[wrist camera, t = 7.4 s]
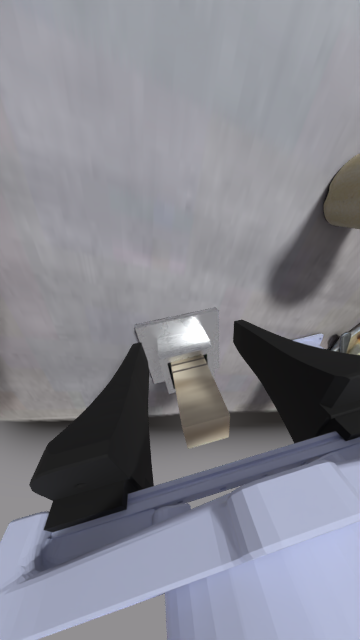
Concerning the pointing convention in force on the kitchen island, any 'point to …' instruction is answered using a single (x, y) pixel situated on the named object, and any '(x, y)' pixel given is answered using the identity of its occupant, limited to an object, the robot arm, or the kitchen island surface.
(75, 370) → the kitchen island surface
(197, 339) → the stand
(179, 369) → the column
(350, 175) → the flower pot
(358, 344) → the salad plate
